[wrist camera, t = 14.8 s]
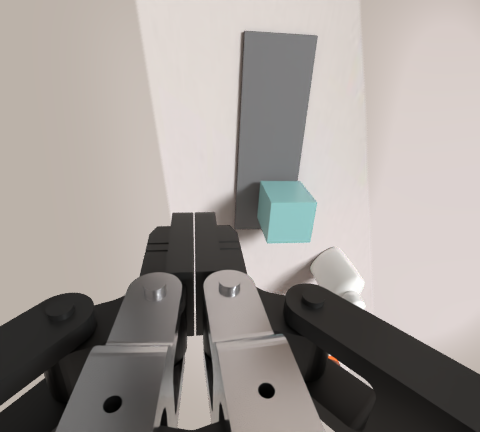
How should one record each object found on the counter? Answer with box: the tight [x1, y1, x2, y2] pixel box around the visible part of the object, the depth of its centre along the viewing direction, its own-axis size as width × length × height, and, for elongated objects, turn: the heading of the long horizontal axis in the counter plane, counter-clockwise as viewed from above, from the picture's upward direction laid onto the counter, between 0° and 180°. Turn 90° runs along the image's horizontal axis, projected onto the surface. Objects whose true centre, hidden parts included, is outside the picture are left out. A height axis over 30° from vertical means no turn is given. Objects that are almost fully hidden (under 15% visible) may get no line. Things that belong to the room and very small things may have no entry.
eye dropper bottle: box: [310, 247, 365, 310], centre depth 45 cm, size 4×6×12 cm
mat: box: [235, 31, 318, 229], centre depth 40 cm, size 24×8×1 cm, turn 177°
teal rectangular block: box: [257, 181, 317, 243], centre depth 40 cm, size 5×5×7 cm
